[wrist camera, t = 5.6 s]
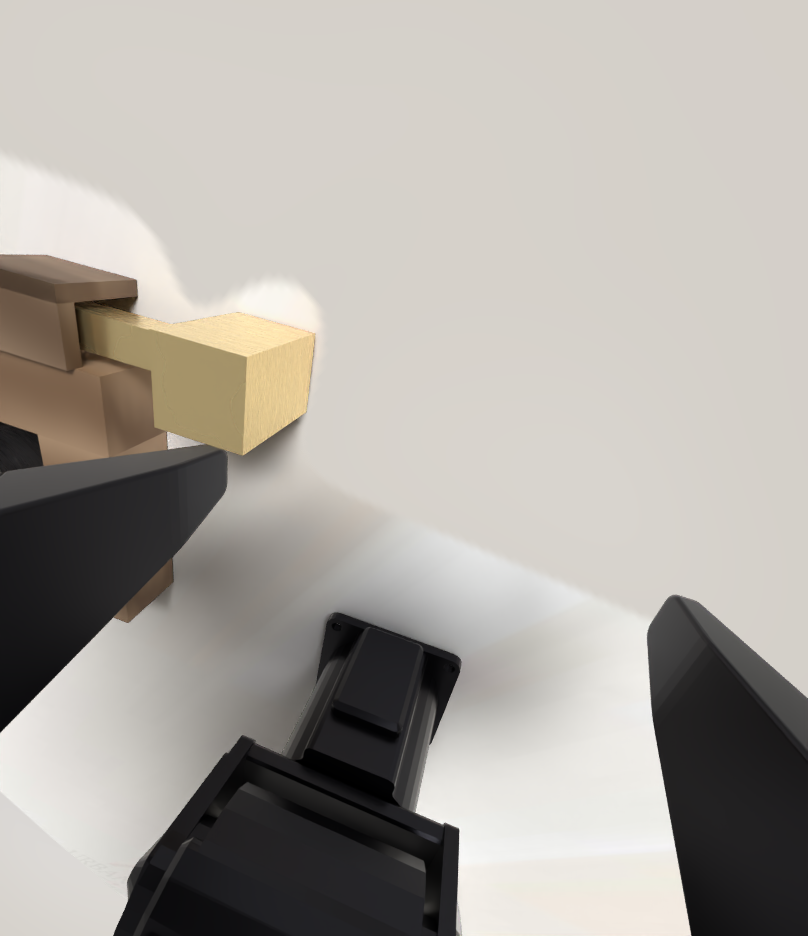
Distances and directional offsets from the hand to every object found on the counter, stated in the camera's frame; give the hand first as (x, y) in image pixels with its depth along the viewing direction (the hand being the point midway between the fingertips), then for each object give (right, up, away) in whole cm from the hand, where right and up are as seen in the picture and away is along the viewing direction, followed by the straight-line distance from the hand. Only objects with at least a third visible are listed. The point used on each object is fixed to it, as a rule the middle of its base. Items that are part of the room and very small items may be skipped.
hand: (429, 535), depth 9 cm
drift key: (-9, +6, +8) cm, 14 cm away
